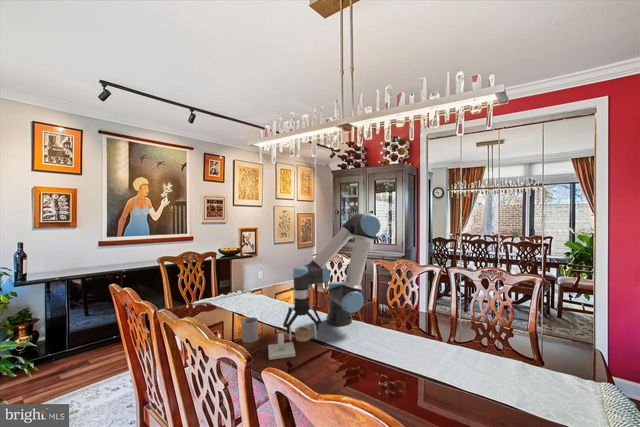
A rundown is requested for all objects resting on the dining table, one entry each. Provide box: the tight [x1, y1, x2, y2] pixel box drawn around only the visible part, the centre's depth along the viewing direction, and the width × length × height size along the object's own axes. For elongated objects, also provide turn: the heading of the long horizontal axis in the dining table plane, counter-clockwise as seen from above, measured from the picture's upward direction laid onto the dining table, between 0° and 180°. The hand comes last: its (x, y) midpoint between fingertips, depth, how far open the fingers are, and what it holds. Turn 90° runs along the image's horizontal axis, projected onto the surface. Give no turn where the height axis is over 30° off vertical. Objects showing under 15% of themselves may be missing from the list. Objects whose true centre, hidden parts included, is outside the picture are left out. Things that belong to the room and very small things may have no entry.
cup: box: [240, 316, 259, 344], centre depth 160 cm, size 8×8×10 cm
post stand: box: [267, 332, 296, 361], centre depth 144 cm, size 12×12×8 cm
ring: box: [294, 325, 312, 343], centre depth 158 cm, size 8×8×5 cm
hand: (303, 338), depth 158 cm, fingers open, 12 cm apart
